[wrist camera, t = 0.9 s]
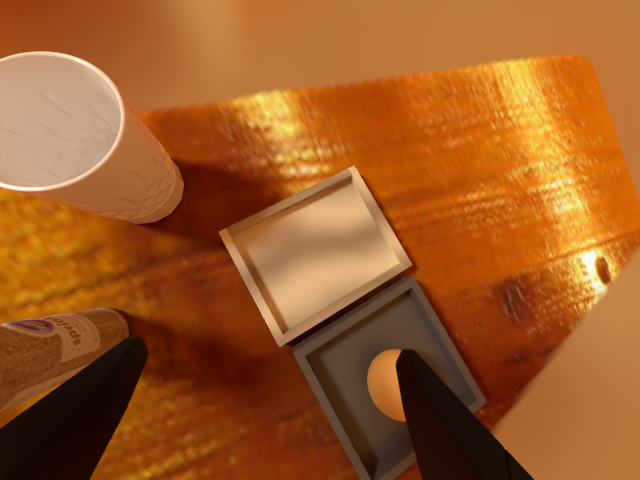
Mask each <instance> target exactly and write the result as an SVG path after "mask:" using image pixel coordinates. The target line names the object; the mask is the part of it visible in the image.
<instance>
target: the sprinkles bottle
mask: <svg viewBox="0 0 640 480" xmlns="http://www.w3.org/2000/svg"><path fill="white" fill-rule="evenodd" d="M126 337H129V331H128V324H127V322H126V320H125V318H124V317H123V316H122V315H120V313H118V312H117V311H115V310H113V309H111V308H94V309H90V310H87V311H83V312H77V313H65V314H58V315H51V316H45V317H39V318H32V319H26V320H20V321H13V322H8V323H4V324H0V412H1V411H3V410H6V409H8V408H10V407H12V406H14V405H16V404H19V403H21V402H23V401H25V400H27V399H30V398H32V397H34V396H36V395H38V394H40V393H43V392H45V391H47V390H49V389H51V388H53V387H55V386H57V385H59V384H62V383H64V382H65V381H67V380H68V379H69V378H71V377H72V376H74V375H75V374H76V373H78V372H79V371H81V370H82V369H83V368H85V367H86V366H87V365H89V364H90V363H92V362H93V361H94V360H96V359H97V358H99V357H100V356H101V355H103V354H104V353H105V352H107V351H108V350H110V349H111V348H112V347H114V346H115V345H117V344H118V343H119V342H121V341H122V340H123V339H125V338H126Z"/></svg>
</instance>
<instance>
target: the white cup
mask: <svg viewBox="0 0 640 480" xmlns="http://www.w3.org/2000/svg"><path fill="white" fill-rule="evenodd" d="M0 187H1V188H5V189H8V190H12V191H15V192H19V193H22V194H26V195H29V196H33V197H36V198H40V199H43V200H47V201H50V202H54V203H57V204H61V205H64V206H68V207H71V208H75V209H78V210H82V211H85V212H88V213H92V214H97V215H101V216H104V217H111V218H117V219H121V220H125V221H128V222H131V223H134V224H142V223H152V222H157V221H158V220H160V219H162V218H164V217H166V216H167V215H169V214H171V213H172V212H173V211H174V209H175V208H176V207H177V205H178V204H179V203H180V201H181V200H182V195H183V189H184V182H183V179H182V176H181V173H180V170H179V168H178V167H177V166H176V165H175V163H174V162H173V161H172V160H171V158H170V157H169V155H168V153H167V152H166V150H165V149H164V147H163V146H162V145H161V143H160V142H159V141H158V140H157V138H156V136H155V135H154V134H153V133H152V131H151V130H150V129H149V127H148V126H147V125H146V124H145V122H144V121H143V120H142V119H141V117H140V116H139V115H138V114H137V112H136V111H135V110H134V108H133V107H132V106H131V105H130V103H129V102H128V101H127V100H126V98H125V97H124V96H123V94H122V93H121V92H120V91H119V89H118V88H117V87H116V85H115V84H114V83H113V82H112V81H111V79H110V78H109V77H108V76H107V75H106V74H105V73H103V72H102V71H101V70H100V69H98V68H97V67H95V66H93V65H92V64H90V63H88V62H86V61H84V60H82V59H79V58H77V57H74V56H70V55H67V54H62V53H56V52H27V53H20V54H16V55H12V56H8V57H5V58H2V59H0Z"/></svg>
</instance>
